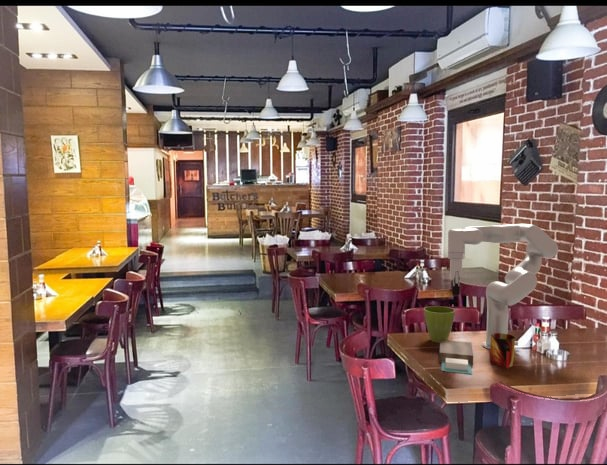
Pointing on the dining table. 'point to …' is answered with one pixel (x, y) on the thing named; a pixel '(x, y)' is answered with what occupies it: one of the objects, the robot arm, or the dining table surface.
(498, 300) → the robot arm
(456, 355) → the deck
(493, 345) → the mug
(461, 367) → the cream rectangular block
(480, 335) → the dining table surface
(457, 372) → the mat
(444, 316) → the flower pot
